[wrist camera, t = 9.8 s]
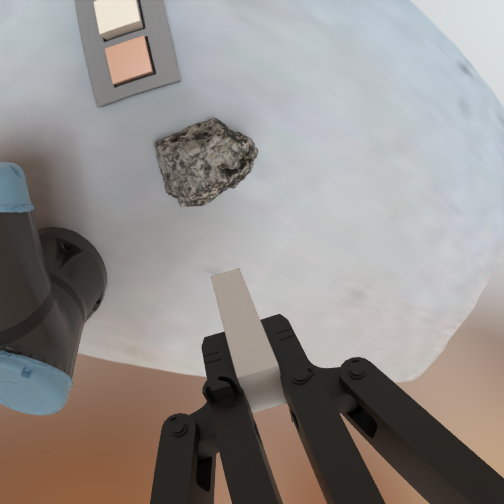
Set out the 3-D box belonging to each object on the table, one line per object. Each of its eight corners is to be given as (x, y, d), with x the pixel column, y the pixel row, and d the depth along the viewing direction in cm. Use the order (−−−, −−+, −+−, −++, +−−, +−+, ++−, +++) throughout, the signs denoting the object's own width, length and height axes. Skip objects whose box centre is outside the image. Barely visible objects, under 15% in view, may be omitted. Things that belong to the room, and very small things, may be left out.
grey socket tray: (102, 106, 32) (97, 107, 29) (74, -52, 18) (68, -60, 16) (180, 81, 33) (180, 80, 30) (147, -76, 19) (146, -86, 17)
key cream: (107, 40, 26) (99, 34, 22) (101, 10, 24) (93, 1, 20) (143, 28, 26) (140, 20, 23) (137, -2, 24) (133, -13, 21)
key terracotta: (119, 85, 30) (112, 84, 27) (111, 53, 28) (104, 48, 24) (154, 73, 31) (151, 71, 27) (146, 41, 28) (143, 35, 25)
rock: (236, 96, 37) (193, 88, 28) (281, 153, 37) (247, 159, 29) (175, 156, 44) (127, 165, 35) (211, 209, 44) (168, 229, 36)
